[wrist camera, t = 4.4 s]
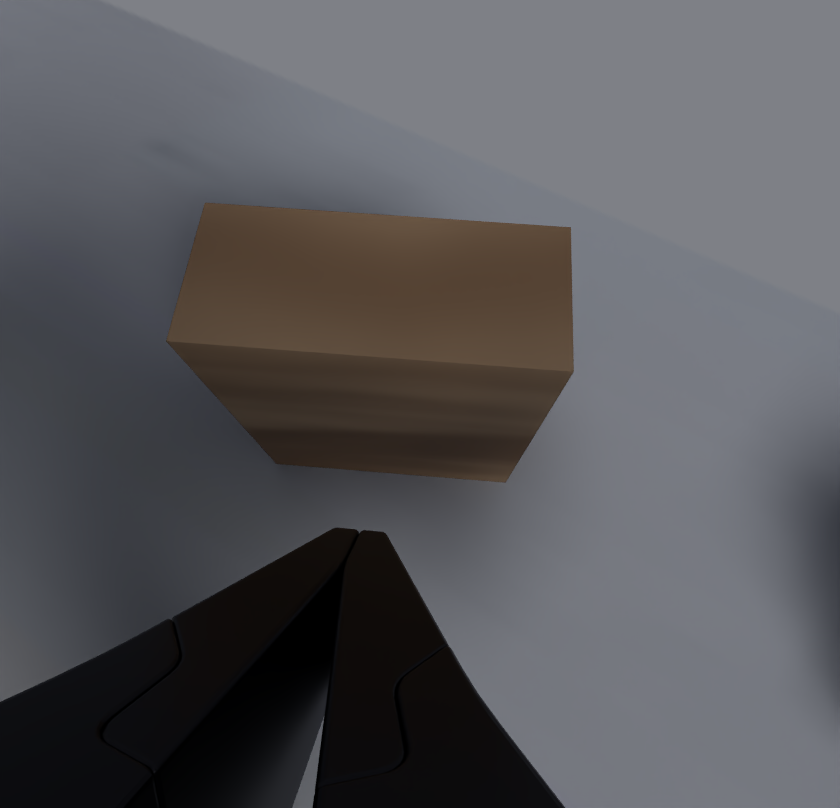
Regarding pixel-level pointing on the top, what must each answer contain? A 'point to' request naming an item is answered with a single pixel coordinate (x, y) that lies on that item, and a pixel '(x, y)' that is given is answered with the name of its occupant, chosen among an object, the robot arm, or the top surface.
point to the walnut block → (379, 335)
